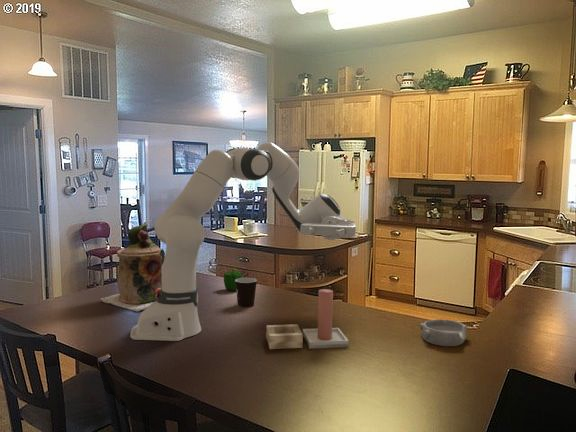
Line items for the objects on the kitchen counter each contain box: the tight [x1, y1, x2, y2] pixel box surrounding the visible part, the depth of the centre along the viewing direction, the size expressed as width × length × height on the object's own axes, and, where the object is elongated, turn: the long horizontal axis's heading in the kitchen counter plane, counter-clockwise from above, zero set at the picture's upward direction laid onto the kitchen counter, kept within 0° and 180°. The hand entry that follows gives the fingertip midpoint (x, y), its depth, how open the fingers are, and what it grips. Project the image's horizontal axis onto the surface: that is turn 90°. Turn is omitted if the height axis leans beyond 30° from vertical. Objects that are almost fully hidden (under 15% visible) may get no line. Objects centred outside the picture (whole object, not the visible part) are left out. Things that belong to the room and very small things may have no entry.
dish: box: [419, 318, 468, 347], centre depth 151 cm, size 14×14×5 cm
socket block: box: [265, 323, 304, 350], centre depth 147 cm, size 10×10×4 cm
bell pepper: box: [223, 268, 243, 292], centre depth 211 cm, size 8×8×10 cm
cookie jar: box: [100, 221, 166, 312], centre depth 191 cm, size 25×25×32 cm
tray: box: [302, 327, 349, 350], centre depth 149 cm, size 12×12×2 cm
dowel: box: [317, 288, 334, 340], centre depth 148 cm, size 4×4×15 cm
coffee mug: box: [235, 277, 258, 308], centre depth 189 cm, size 12×9×10 cm
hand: (324, 232), depth 165 cm, fingers open, 8 cm apart
